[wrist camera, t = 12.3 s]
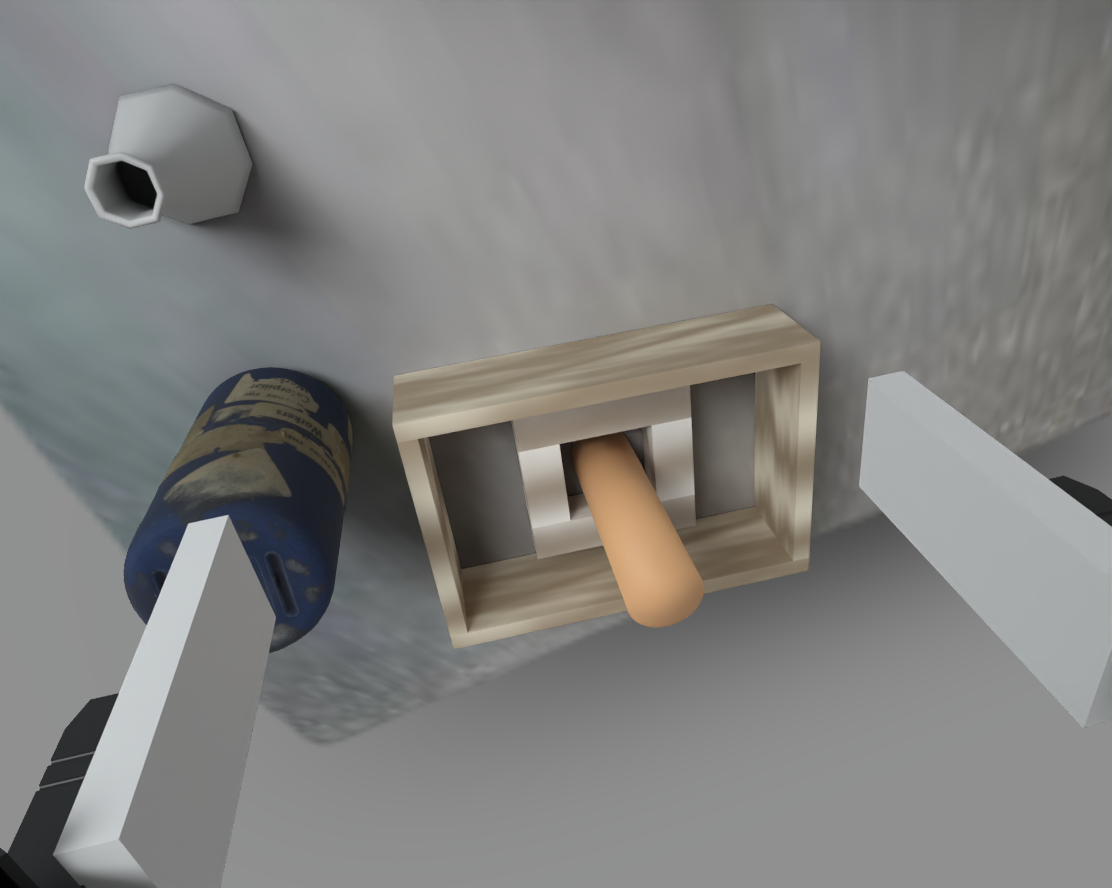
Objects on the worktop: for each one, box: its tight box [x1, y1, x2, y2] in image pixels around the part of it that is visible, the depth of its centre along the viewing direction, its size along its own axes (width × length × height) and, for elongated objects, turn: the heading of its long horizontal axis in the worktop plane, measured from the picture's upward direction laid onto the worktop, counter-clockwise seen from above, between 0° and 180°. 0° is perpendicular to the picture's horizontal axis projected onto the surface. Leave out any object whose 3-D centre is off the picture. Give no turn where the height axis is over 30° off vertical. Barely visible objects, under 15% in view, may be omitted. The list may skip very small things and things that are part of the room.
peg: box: [571, 432, 704, 627], centre depth 48 cm, size 4×4×16 cm
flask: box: [84, 84, 252, 229], centre depth 37 cm, size 7×7×10 cm
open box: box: [392, 304, 821, 649], centre depth 52 cm, size 18×26×7 cm
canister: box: [124, 367, 353, 653], centre depth 42 cm, size 10×10×18 cm
